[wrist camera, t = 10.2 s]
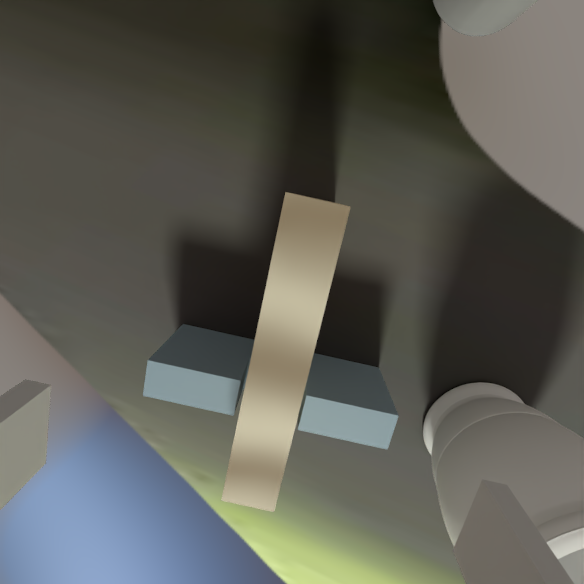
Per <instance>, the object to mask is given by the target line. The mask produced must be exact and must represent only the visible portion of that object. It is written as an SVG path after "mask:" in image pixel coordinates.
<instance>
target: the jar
mask: <svg viewBox="0 0 584 584" xmlns="http://www.w3.org/2000/svg"><path fill="white" fill-rule="evenodd" d="M423 438H424V442H425V445H426V447H427V449H428V451H429V453H430V454H431V456H432V470H433V475H434V480H435V484H436V487H437V492H438V498H439V503H440V508H441V512H442V515H443V519H444V522H445V525H446V528H447V531H448V534H449V536H450V539H451V541H452V543H453V546H455V544H456V541H457V539H458V537H459V534H460V532H461V529H462V527H463V524H464V522H465V520H466V517H467V515H468V512H469V510H470V508H471V505H472V503H473V500H474V498H475V496H476V493H477V491H478V488H479V486H480V483H481V481H482V479H483V480H488V481H492V482H497V483H501V484H506V485H507V486H508V487H509V489H510V490H511V492H512V493H513V494H514V496H515V497H516V499H517V500H518V502H519V503H520V505H521V506H522V508H523V509H524V511H525V512H526V514H527V515H528V516H529V518H530V519H531V521H532V522H533V524H534V525H535V527H536V528H537V530H538V531H539V533H540V534H541V536H542V537H543V538H544V540H545V541H546V543H547V544H548V546H549V547H550V549H551V550H552V552H553V553H554V555H555V556H556V558H557V559H558V560H559V562H560V563H561V565H562V566H563V568H564V569H565V571H566V572H567V574H568V575H569V577H570V578H571V580H572V581H573V583H574V584H584V438H582V437H581V436H579V435H578V434H576V433H574V432H573V431H571V430H569V429H568V428H566V427H564V426H562V425H560V424H559V423H558V422H556V421H555V420H553V419H552V418H550V417H549V416H547V415H546V414H544V413H542V412H540V411H539V410H537V409H535V408H533V407H530V406H528V405H526V404H524V402H523V401H522V400H521V399H520V398H519V397H518V396H517V395H516V394H515V393H513V392H512V391H511V390H509V389H507V388H505V387H503V386H500V385H496V384H492V383H483V382H478V383H469V384H465V385H461V386H458V387H456V388H454V389H452V390H450V391H448V392H446V393H445V394H443V395H442V396H441V397H440V398H439V399H438V400H437V401H436V402H435V403H434V404H433V405H432V406H431V408H430V409H429V411H428V413H427V415H426V418H425V421H424V425H423Z"/></svg>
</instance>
